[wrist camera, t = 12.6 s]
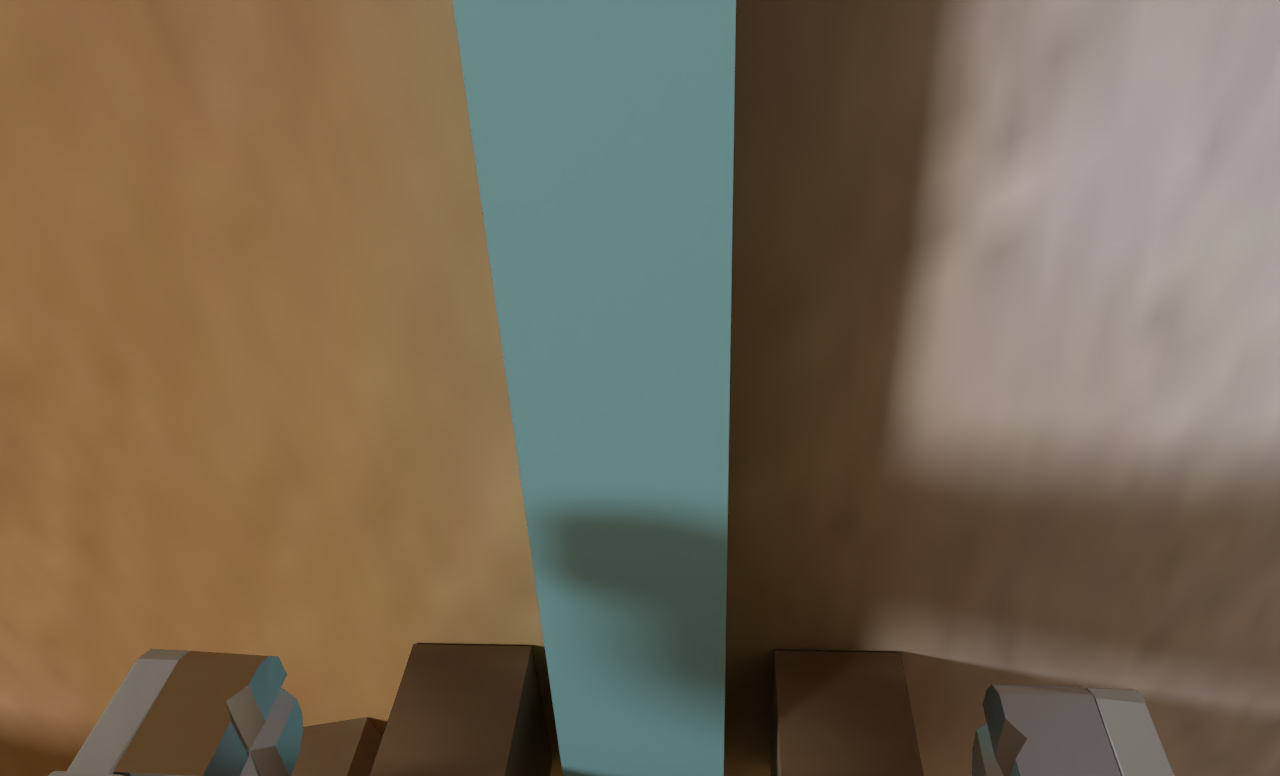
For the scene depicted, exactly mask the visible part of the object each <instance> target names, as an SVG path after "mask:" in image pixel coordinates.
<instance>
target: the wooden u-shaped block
mask: <svg viewBox="0 0 1280 776" xmlns="http://www.w3.org/2000/svg"><path fill="white" fill-rule="evenodd" d="M551 767H552V759H551V753H550V748H549V742H548V737H547V731H546V726H545V720H544V715H543V709H542V704H541V698H540V693H539V687H538V681H537V676H536V670H535V665H534V659H533V654H532V648H531V646H490V645H433V644H413V647H412V650H411V653H410V656H409V659H408V662H407V665H406V668H405V671H404V674H403V677H402V680H401V683H400V686H399V689H398V692H397V695H396V698H395V701H394V704H393V707H392V710H391V713H390V716H389V719H388V722H387V725H386V728H385V731H384V734H383V737H382V740H381V743H380V746H379V749H378V752H377V755H376V758H375V761H374V764H373V767H372V770H371V773H370V776H550V773H551ZM771 776H923V770H922V765H921V760H920V754H919V749H918V744H917V738H916V733H915V728H914V722H913V717H912V711H911V706H910V701H909V695H908V690H907V685H906V679H905V674H904V669H903V663H902V658H901V653H886V652H830V651H775V652H774V685H773V717H772V749H771Z"/></svg>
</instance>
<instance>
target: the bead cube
mask: <svg viewBox="0 0 1280 776" xmlns="http://www.w3.org/2000/svg"><path fill="white" fill-rule="evenodd" d="M381 740H382V736H381V735H380V733H379V732H378V731H377V729H376V728H375V727H374V725H373V724H372V723H371V721H370V720H369V719H368V717H365V718H359V719H352V720H346V721H339V722H333V723H327V724H320V725H314V726H308V727H303V734H302V740H301V746H300V752H299V757H298V759H297V762H296V764H295V767H294V769H293V772H292V774H291V776H370V773H371V770H372V767H373V764H374V761H375V758H376V755H377V752H378V749H379V746H380V743H381Z"/></svg>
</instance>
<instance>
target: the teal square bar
mask: <svg viewBox="0 0 1280 776" xmlns="http://www.w3.org/2000/svg"><path fill="white" fill-rule="evenodd" d="M453 6H454V13H455V20H456V27H457V34H458V41H459V48H460V55H461V62H462V69H463V76H464V83H465V90H466V97H467V104H468V111H469V118H470V125H471V132H472V139H473V146H474V153H475V161H476V168H477V175H478V182H479V189H480V196H481V203H482V210H483V217H484V224H485V231H486V238H487V245H488V252H489V259H490V266H491V273H492V280H493V287H494V294H495V301H496V308H497V315H498V322H499V329H500V336H501V344H502V351H503V358H504V365H505V372H506V379H507V386H508V393H509V400H510V407H511V414H512V421H513V428H514V435H515V442H516V449H517V456H518V463H519V470H520V477H521V484H522V491H523V498H524V505H525V512H526V519H527V526H528V534H529V541H530V548H531V555H532V562H533V569H534V576H535V583H536V590H537V597H538V604H539V611H540V618H541V625H542V632H543V639H544V646H545V653H546V660H547V667H548V674H549V681H550V688H551V695H552V702H553V710H554V717H555V724H556V731H557V738H558V745H559V752H560V759H561V766H562V773H563V776H724V723H725V660H726V598H727V535H728V473H729V410H730V348H731V285H732V222H733V160H734V97H735V35H736V0H453Z"/></svg>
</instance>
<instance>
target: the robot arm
mask: <svg viewBox="0 0 1280 776" xmlns="http://www.w3.org/2000/svg"><path fill="white" fill-rule="evenodd" d="M286 675H287V674H286V672H285V670H284V668H283V666H282V663H281V661H280V659H279V657H277V656H262V655H246V654H231V653H215V652H200V651H185V650H164V649H150V650H149V651H147V652H146V653H145V654H144V655H142V656H141V657H140V658H138V659H137V661H136V662H135V663H134V665H133V667H132V668H131V670H130V671H129V673H128V675H127V676H126V678H125V679H124V681H123V682H122V684H121V686H120V687H119V689H118V690H117V692H116V693H115V695H114V697H113V698H112V700H111V701H110V703H109V705H108V706H107V708H106V709H105V711H104V712H103V714H102V716H101V717H100V719H99V720H98V722H97V723H96V725H95V727H94V728H93V730H92V731H91V733H90V734H89V736H88V738H87V739H86V741H85V742H84V744H83V746H82V747H81V749H80V750H79V752H78V753H77V755H76V757H75V758H74V760H73V761H72V763H71V764H70V766H69V768H68V769H67V771H53V772H52V773H50V774H49V775H48V776H291V774H292V772H293V769H294V767H295V764H296V762H297V759H298V757H299V752H300V746H301V740H302V734H303V722H302V712H301V709H300V707H299V704H298V701H297V699H296V698H295V697H294V696H292V695H291V694H289V693H288V692H287V691H285V690H284V689H283V688H281V686H282V684H283V682H284V679H285V677H286ZM983 707H984V712H985V716H986V721H987V723H986V724H984V725H983V726H981V727H980V728H978V729H977V730H976V735H975V740H974V745H973V761H972V775H973V776H1175V774H1174V772H1173V769H1172V767H1171V764H1170V762H1169V759H1168V757H1167V754H1166V752H1165V749H1164V747H1163V744H1162V742H1161V739H1160V737H1159V734H1158V732H1157V729H1156V727H1155V725H1154V722H1153V720H1152V717H1151V715H1150V712H1149V710H1148V707H1147V705H1146V702H1145V700H1144V698H1143V697H1142V696H1141V695H1140V694H1139V693H1138V692H1137V691H1136V690H1131V689H1101V688H1083V687H1081V686H1044V685H1006V684H992V685H991V686H990V687H989V688H988V689H987V691H986V695H985V699H984V702H983Z"/></svg>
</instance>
